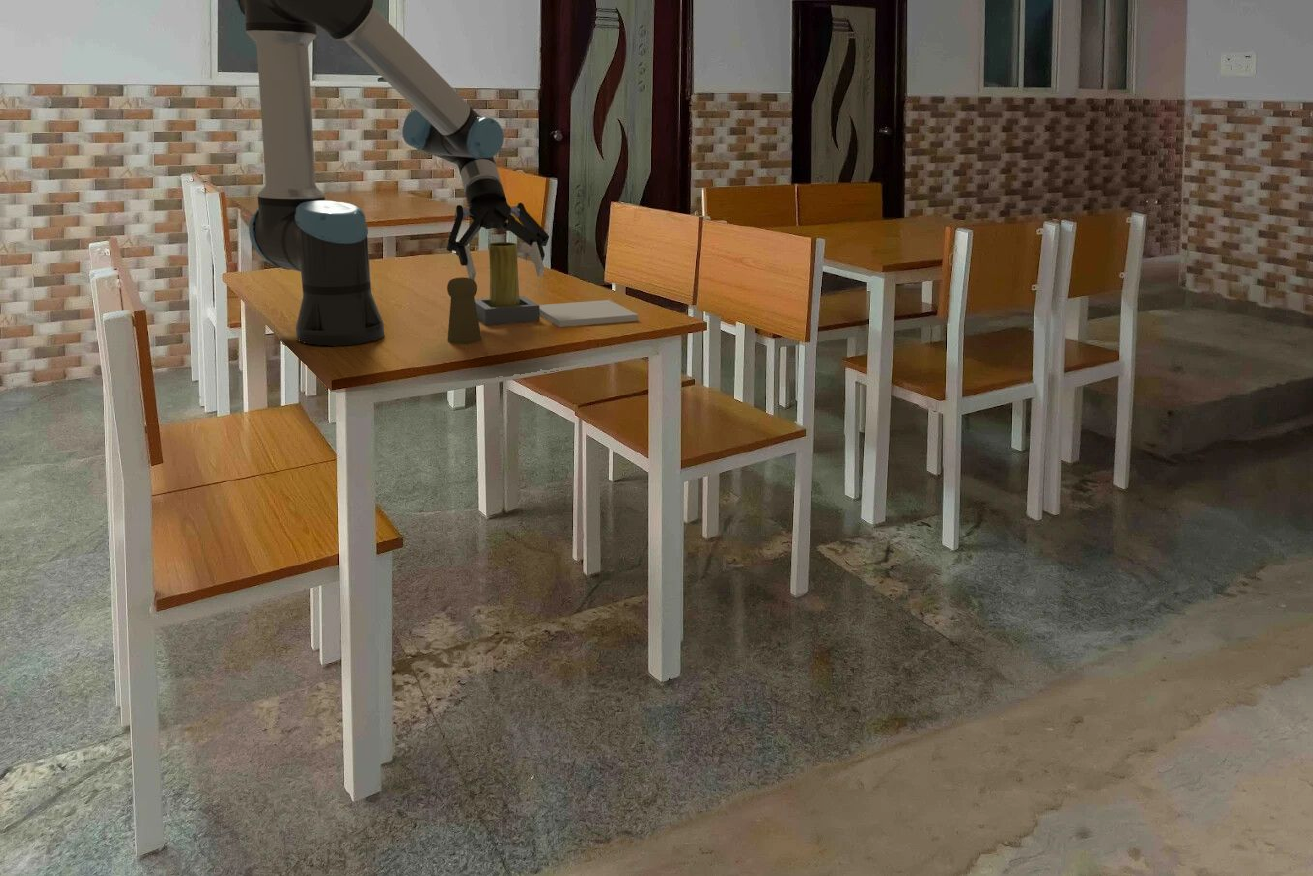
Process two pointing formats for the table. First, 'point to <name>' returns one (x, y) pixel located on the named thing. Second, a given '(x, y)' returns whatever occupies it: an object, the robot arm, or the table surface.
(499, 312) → the collar
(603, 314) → the board
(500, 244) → the vase
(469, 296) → the olive brown pawn
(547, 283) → the table surface
